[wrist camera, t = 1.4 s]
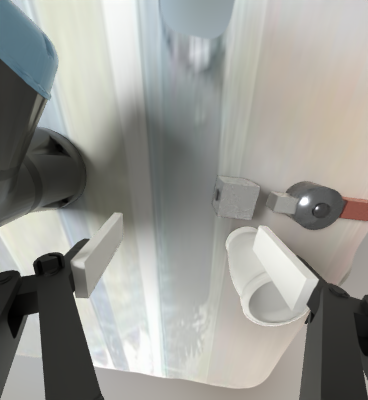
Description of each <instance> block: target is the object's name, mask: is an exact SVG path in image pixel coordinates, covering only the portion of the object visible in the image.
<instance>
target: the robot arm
mask: <svg viewBox="0 0 368 400" xmlns="http://www.w3.org/2000/svg"><path fill="white" fill-rule="evenodd" d="M57 68H58V55H57V52H56V50H55V47H54V45H53V44H52V42H51V41H50V39H49V38H48V37H47V36H46V34H45V33H44V32H43V31H42V30H41V29H40V28H39V27H38V26H37V25H36V24H35V23H34V22H33V21H32V20H31V19H30V18H29V17H28V16H27V15H25V14H24V13H23V12H22V11H21V10H20V9H19V8H18V7H17V6H16V5H15V4H14V3H13V2H12V1H11V0H0V227H1V226H3V225H5V224H7V223H9V222H11V221H13V220H15V219H17V218H19V217H22V216H23V215H26V214H28V213H31V212H39V211H47V210H55V209H59V208H62V207H64V206H67V205H68V204H70V203H72V202H74V201H75V200H76V199H77V198H78V197H79V196H80V195H81V194H82V192H83V190H84V188H85V184H86V170H85V165H84V163H83V160H82V158H81V156H80V154H79V153H78V151H77V150H76V148H75V147H74V146H73V145H72V144H71V143H70V142H69V141H68V140H67V139H66V138H64V137H63V136H61V135H60V134H58V133H56V132H54V131H52V130H49V129H46V128H42V127H37V124H38V122H39V119H40V117H41V115H42V112H43V110H44V107H45V105H46V103H47V100H49V101H50V99H51V95H50V91H51V88H52V85H53V81H54V78H55V74H56V71H57ZM122 240H123V213H113V215H112V216H111V217H110V218H109V219H108V220H107V221H106V222H105V223H104V225H103V226H102V227H101V228H100V229H99V230H98V231H97V232H96V233H95V234H94V236H93V237H92V238H91V239H83V240H81V241H79V242H77V243H76V244H75V245H74V246H73V248H71V249H70V250H69V252H67V253H66V254H65V255H64V256H63V254H61V253H58V252H53V253H48V254H45V255H42V256H41V257H39V258H37V259H36V260H35V261H34V263H33V267H34V271H35V275H30V276H23V277H21V276H20V273H19V272H18V271H15V270H11V271H5V272H1V273H0V398H1V395H2V392H3V389H4V386H5V383H6V380H7V377H8V374H9V371H10V368H11V365H12V362H13V359H14V356H15V353H16V350H17V347H18V344H19V341H20V338H21V335H22V332H23V329H24V326H25V323H26V320H27V317H28V315H29V314H34V313H38V312H39V321H40V334H41V347H42V360H43V373H44V385H45V398H46V400H104V398H103V396H102V394H101V391H100V388H99V384H98V381H97V377H96V374H95V370H94V366H93V363H92V359H91V356H90V352H89V349H88V345H87V342H86V338H85V335H84V331H83V328H82V324H81V320H80V317H79V313H78V310H77V306H76V303H75V299H74V296H73V292H74V291H75V295H76V298H89V297H90V295H91V293H92V291H93V290H94V288H95V286H96V285H97V283H98V281H99V279H100V278H101V276H102V274H103V273H104V271H105V269H106V267H107V266H108V264H109V262H110V261H111V259H112V257H113V255H114V254H115V252H116V250H117V248H118V247H119V245H120V243H121V242H122ZM253 251H254V252H255V254H256V256H257V257H258V259H259V260H260V262H261V263H262V265H263V267H264V268H265V270H266V271H267V273H268V274H269V276H270V278H271V279H272V281H273V282H274V284H275V285H276V287H277V289H278V290H279V292H280V293H281V295H282V296H283V298H284V300H285V301H286V303H287V304H288V306H289V307H290V309H291V311H294V312H304V309H305V307H306V305H307V306H308V308H309V309H310V310H311V311H310V313H309V315H308V317H307V319H306V321H305V324H307V323H308V325H307V334H306V343H305V352H304V362H303V371H302V379H301V389H300V398H299V400H368V396H367V390H366V384H365V378H364V373H365V375H366V377H367V380H368V295H365V296H364V298H363V299H362V300H360V299H356V298H353V297H350V295H349V294H348V293H347V292H346V291H344V290H343V289H342V288H340V287H338V286H336V285H333V284H329V283H327V282H326V281H325V280H324V279H323V278H322V277H321V276H320V275H319V274H318V273H317V272H316V271H315V270H313V268H312V267H311V266H309V264H308V263H307V262H306V261H305V260H303V259H302V258H300V257H299V256H297V255H295V254H294V253H293V252H292V251H291V250H290V249H289V248H288V247H287V246H286V245H285V244H284V243H283V242H282V241H281V240H280V239H279V238H278V237H277V236H276V235H275V234H274V233H273V232H272V231H271V230H270V229H269V228H268V227H267V226H261V225H259V228H258V231H257V235H256V238H255V242H254V245H253ZM363 370H364V372H363Z"/></svg>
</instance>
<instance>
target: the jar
mask: <svg viewBox="0 0 368 400" xmlns="http://www.w3.org/2000/svg"><path fill="white" fill-rule="evenodd" d="M257 231H258V229H256V228H254V227H249V226H246V227H240V228H238V229H236V230H234V231H233V232H232V233H230V235H229V236H228V238H227V240H226V250H227V252H228V262H229V270H230V275H231V278H232V281H233V284H234V286H235V289H236V291H237V292H238V294H239V296H240V298H241V307H242V310H243V313H244V315H245V316H246V317H247V318H248V319H249V320H250V321H252V322H254V323H256V324H259V325H263V326H280V325H285V324H288V323H291V322H293V321H295V320H297V319H299V318H300V317H302V316H303V315H305V314H306V313H307V312H308V311H309V310H310V309H309V308H308V306H307V305H306V307H305V309H304V312H294V311H291V309H290V307H289V306H288V304H287V303H286V301H285V300H284V298H283V296H282V295H281V293H280V292H279V290H278V289H277V287H276V285H275V284H274V282H273V281H272V279H271V278H270V276H269V274H268V273H267V271H266V270H265V268H264V267H263V265H262V263H261V262H260V260H259V259H258V257H257V256H256V254H255V252H254V251H253V245H254V242H255V238H256V235H257Z"/></svg>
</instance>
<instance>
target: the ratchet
mask: <svg viewBox="0 0 368 400" xmlns="http://www.w3.org/2000/svg"><path fill="white" fill-rule="evenodd" d="M266 206H267V207H268V208H269V209H270V210H272V211H273V212H279V213H285V214H286V215H288V216H289V217H291V218H292V219H293V220H295V221H296V222H297V223H299V224H300V225H302V226H303V227H304V228H307V229H311V230H318V229H322V228H325V227H327V226H329V225H331V224H332V223H333V222H334V221H335V220H336V219H337V218H338V217H340V218H347V219H355V220H364V221H368V200H364V199H356V198H348V197H342V196H341V195H340V194H339V193H338V192H337V191H335V190H333V189H330V188H327V187H324V186H321V185H318V184H315V183H312V182H307V181H305V182H300V183H297V184H295V185H293V186H292V187H290V188H289V189H288V190H287V191H286V193H280V192H272V191H270V194H269V197H268V200H267V203H266Z"/></svg>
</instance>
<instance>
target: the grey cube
mask: <svg viewBox="0 0 368 400" xmlns="http://www.w3.org/2000/svg"><path fill="white" fill-rule="evenodd" d="M260 188H261V187H259V186H258V185H256V184H255V183H253V182H251V181H250V180H248V179H242V178H234V177H226V176H219V175H217V180H216V185H215V190H214V196H213V201H212V205H213V208H214V210H215V212H216V214H217V216H218V217H227V218H236V219H244V220H251V219H252V216H253V212H254V209H255V205H256V202H257V198H258V195H259V191H260Z"/></svg>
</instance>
